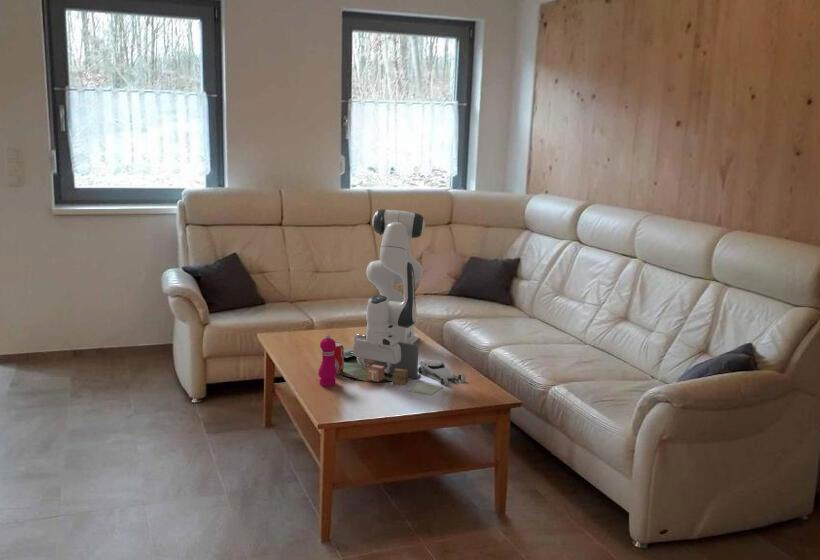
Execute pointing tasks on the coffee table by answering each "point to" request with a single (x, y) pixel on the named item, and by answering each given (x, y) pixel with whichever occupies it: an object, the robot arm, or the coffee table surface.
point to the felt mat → (425, 388)
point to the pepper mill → (327, 362)
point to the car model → (440, 373)
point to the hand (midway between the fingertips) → (376, 370)
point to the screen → (405, 360)
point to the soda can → (338, 357)
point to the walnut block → (400, 377)
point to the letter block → (375, 373)
